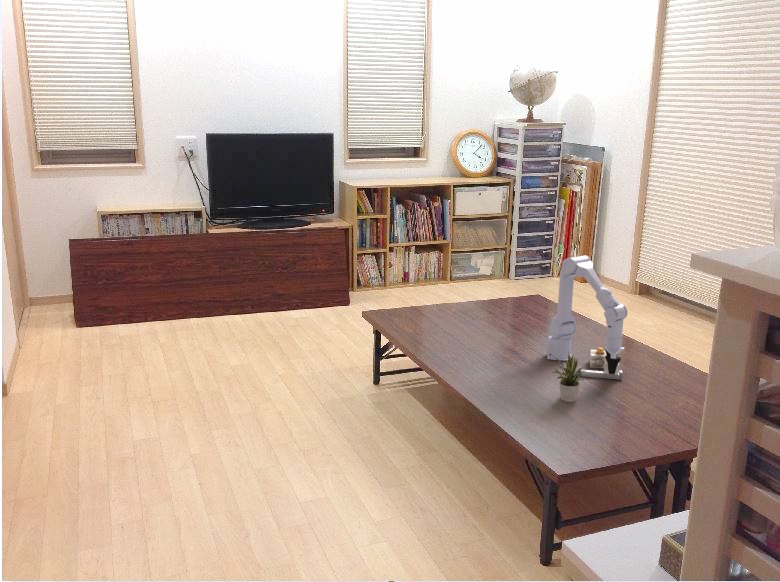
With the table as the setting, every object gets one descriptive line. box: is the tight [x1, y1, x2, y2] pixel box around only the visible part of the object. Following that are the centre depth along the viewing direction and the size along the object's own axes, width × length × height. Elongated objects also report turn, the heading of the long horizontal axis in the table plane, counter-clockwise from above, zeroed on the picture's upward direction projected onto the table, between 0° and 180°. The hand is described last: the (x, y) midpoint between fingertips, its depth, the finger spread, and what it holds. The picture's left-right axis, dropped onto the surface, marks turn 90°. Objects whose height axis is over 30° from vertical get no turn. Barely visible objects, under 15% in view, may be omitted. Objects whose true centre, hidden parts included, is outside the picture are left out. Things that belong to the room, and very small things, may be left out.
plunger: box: [596, 346, 604, 354], centre depth 282 cm, size 2×2×2 cm
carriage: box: [603, 360, 620, 380], centre depth 269 cm, size 5×4×6 cm
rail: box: [577, 365, 623, 381], centre depth 271 cm, size 16×3×3 cm, turn 75°
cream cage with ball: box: [589, 349, 607, 369], centre depth 282 cm, size 7×7×5 cm
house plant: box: [551, 352, 586, 403], centre depth 250 cm, size 14×14×16 cm
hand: (611, 370), depth 269 cm, fingers open, 7 cm apart
